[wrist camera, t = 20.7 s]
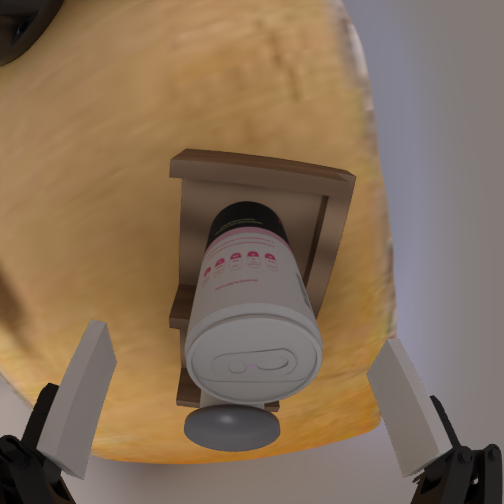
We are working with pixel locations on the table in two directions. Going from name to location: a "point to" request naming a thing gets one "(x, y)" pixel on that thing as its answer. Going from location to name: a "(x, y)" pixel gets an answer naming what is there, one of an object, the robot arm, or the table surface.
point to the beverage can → (251, 312)
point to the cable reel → (231, 425)
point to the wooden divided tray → (271, 195)
